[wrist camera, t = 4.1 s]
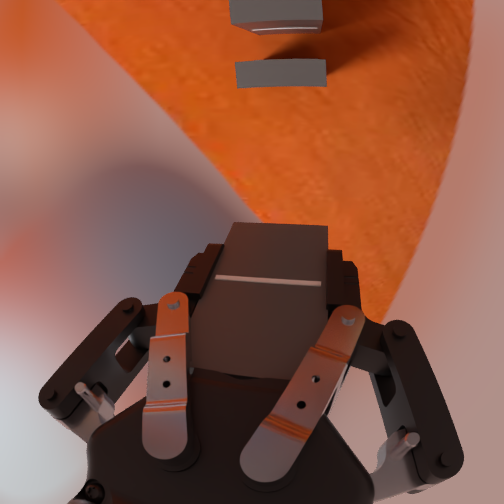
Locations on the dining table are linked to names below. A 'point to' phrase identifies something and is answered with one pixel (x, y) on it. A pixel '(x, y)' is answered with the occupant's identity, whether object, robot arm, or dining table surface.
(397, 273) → the dining table surface
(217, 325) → the lead tile
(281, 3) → the tile
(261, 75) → the tile
